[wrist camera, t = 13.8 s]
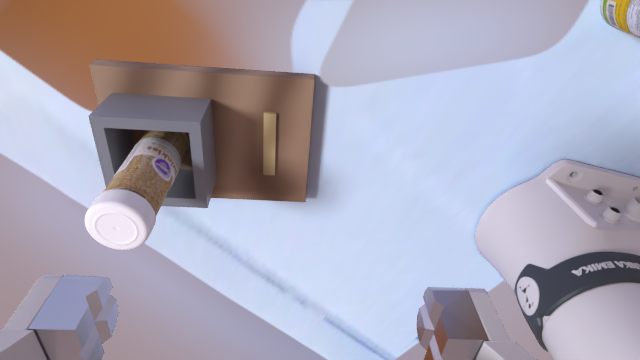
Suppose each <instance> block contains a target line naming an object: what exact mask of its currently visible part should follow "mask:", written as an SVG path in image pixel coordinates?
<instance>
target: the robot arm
mask: <svg viewBox="0 0 640 360" xmlns="http://www.w3.org/2000/svg"><path fill="white" fill-rule="evenodd" d="M572 172H573V173H572ZM571 173H572V174H571ZM475 242H476V246H477V249H478V251H479V252H480V254H481V255H482V256H483V257H484V258H485V259H486V260H487V261H488V262H489V263H490V264H491V265H492V266H493V267H494V268H495V270H496V271H497V272H498V273H499V274H500V276H501V277H502V278H503V279H504V281H505V282H506V283H507V284H508V286H509V287H510V289H511V290H512V291H513V293H514V294H515V296H516V297H517V300H518V303H519V305H520V308H521V310H522V313H523V315H524V317H525V319H526V321H527V323H528V325H529V327H530V328H531V330H532V332H533V334H534V335H535V337H536V339H537V341H538V342H539V344H540V345H541V347H542V348H543V349H544V350H546V351H547V352H549V354H550V356H551V358H552V359H553V360H640V178H639V177H636V176H632V175H628V174H624V173H620V172H616V171H612V170H608V169H604V168H600V167H596V166H592V165H588V164H584V163H580V162H576V161H572V160H568V159H563V160H559V161H557V162H555V163H554V164H552V165H551V166H550V167H548V168H547V169H546V170H545V171H543V172H542V173H541V174H540V175H538V176H537V177H535V178H533V179H531V180H529V181H526V182H524V183H522V184H519V185H517V186H515V187H513V188H511V189H510V190H508V191H506V192H505V193H503V194H502V195H501V196H499V197H498V198H497V199H496V200H495V201H494V202H492V203H491V204H490V206H489V207H488V208H487V209H486V210H485V212H484V213H483V215H482V216H481V218H480V220H479V222H478V225H477V228H476V232H475ZM112 288H113V286H112V283H111V280H110V278H108V277H96V276H78V275H56V274H44V275H43V276H41V277H40V278H38V279H37V281H36V282H35V284H34V285H33V286H32V288H31V289H30V291H29V292H28V293H27V295H26V296H25V298H24V299H23V301H22V302H21V303H20V305H19V306H18V308H17V309H16V310H15V312H14V313H13V315H12V316H11V317H10V319H9V320H8V322H7V323H6V325H5V326H4V327H3V329H0V360H101V359H102V357H103V355H104V349H103V346H102V344H103V343H104V342H105V341H107V340H108V339H109V338H110V337H111V336H112V334H113V332H114V330H115V327H116V323H117V317H118V304H117V300H116V299H115V298H114V297H113V296H112V295H110V292H111V290H112ZM423 298H424V302H425V304H424V305H423V306H422V307H420V308H419V312H418V315H417V333H418V338H419V342H420V344H421V345H422V346H423V347H424V348H425V349H426V350H427V352H426V355H425V358H424V360H538V359H536V358H535V357H534V356H533V355H532V354H530V353H529V352H528V351H526V350H525V349H524V348H523V347H522V346H521V345H520V344H518V343H517V342H511V341H510V339H509V337H508V335H507V332H506V331H505V328H504V326H503V324H502V322H501V320H500V318H499V316H498V313H497V311H496V309H495V307H494V305H493V303H492V301H491V299H490V297H489V295H488V292H487V291H486V290H485V289H475V288H465V289H464V288H441V287H428V288H427V289H426V290H425V293H424V296H423Z"/></svg>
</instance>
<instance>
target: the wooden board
mask: <svg viewBox="0 0 640 360" xmlns="http://www.w3.org/2000/svg"><path fill="white" fill-rule="evenodd" d="M89 67H90V72H91V76H92V81H93V85H94V89H95V94H96V98H97V102H98V106H99V105H100V104H101V103H102V102H103V101H104V100H105V99H106V98H107V97H108V96H109V95H110V94H111V93H126V94H142V95H158V96H174V97H190V98H206V99H211V103H212V118H213V133H214V148H215V162H216V177H217V179H216V182H215V186H214V189H213V192H212V195H211V198H229V199H251V200H272V201H294V202H305V200H306V187H307V173H308V160H309V147H310V134H311V120H312V107H313V94H314V81H315V79H314V74H304V73H288V72H274V71H259V70H245V69H230V68H216V67H215V68H214V67H200V66H186V65H171V64H156V63H141V62H127V61H126V62H125V61H112V60H111V61H110V60H97V59H96V60H95V61H93V62H92V63H91V64H90V65H89ZM144 131H145V130H135V129H130V132H131V138H132V143H133V148H134V146H135V145H136V144H137V143H138V142H139V140H140V139H141V138H142V136H143V134H144ZM185 133H186V135H187V136H188V139H189V142H190V137H189V133H188V132H185ZM180 169H189V170H193V166H192V157H191V147H190V148H189V151H188V154H187V155H186V156H185V158H184V159H183V162H182V164H181V167H180Z"/></svg>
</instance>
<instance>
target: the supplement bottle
mask: <svg viewBox="0 0 640 360" xmlns="http://www.w3.org/2000/svg"><path fill="white" fill-rule="evenodd" d="M600 11H601V15H602V17H603V19H604V20H605V22H606V23H608V24H609V25H611V26H613V27H615V28H617V29H619V30H622V31H624V32H627V33H629V34H632V35H634V36H637V37H639V38H640V0H601V3H600Z"/></svg>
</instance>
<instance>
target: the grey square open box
mask: <svg viewBox="0 0 640 360" xmlns="http://www.w3.org/2000/svg"><path fill="white" fill-rule="evenodd" d="M89 120H90V124H91V128H92V132H93V136H94V140H95V144H96V148H97V152H98V156H99V160H100V164H101V168H102V172H103V176H104V180H105V185H106V188H107V186H108V185H109V184H110V182H111V181H112V179H113V177H114V175H115V174H116V172H117V171H118V169H119V168H120V167H121V165H122V164H123V162H124V161H125V159H126V158H127V157H128V155H129V154H130V152H131V151H132V149H133V143H132V138H131V132H130V129H135V130H153V131H170V132H188V133H189V137H190V147H191V157H192V166H193V170H189V169H180V170H179V172H178V174H177V176H176V178H175V180H174V182H173V184H172V186H171V188H170V189H169V191H168V193H167V195H166V197H165V199H164V201H163V203H162V205H161V206H175V207H198V208H208V205H209V201H210V198H211V195H212V192H213V189H214V186H215V182H216V179H217V177H216V162H215V148H214V133H213V118H212V103H211V99H206V98H190V97H174V96H158V95H142V94H126V93H111V94H110V95H109V96H108V97H107V98H106V99H105V100H104V101H103V102H102V103H101V104H100V105H99V106H98V107H97V108H96V109H95V110H94V111H93V112H92V113H91V114H90V115H89Z"/></svg>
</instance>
